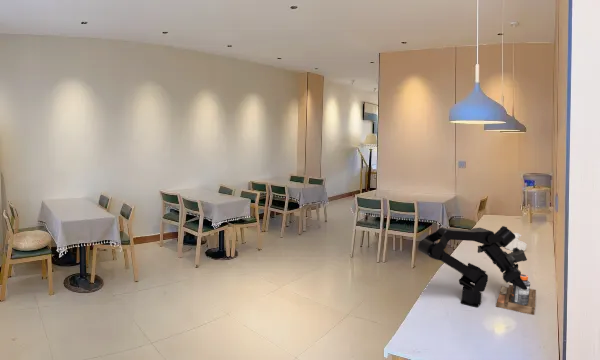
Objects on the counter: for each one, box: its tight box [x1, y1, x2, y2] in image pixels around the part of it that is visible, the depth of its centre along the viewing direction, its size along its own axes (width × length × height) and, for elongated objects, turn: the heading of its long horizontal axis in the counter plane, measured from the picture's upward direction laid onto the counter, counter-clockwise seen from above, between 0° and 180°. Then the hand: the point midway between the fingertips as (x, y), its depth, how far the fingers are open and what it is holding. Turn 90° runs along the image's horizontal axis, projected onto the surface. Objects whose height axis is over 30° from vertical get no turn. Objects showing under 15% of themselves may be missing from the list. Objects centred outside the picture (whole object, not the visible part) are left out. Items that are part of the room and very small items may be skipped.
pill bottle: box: [511, 273, 531, 305], centre depth 156 cm, size 6×6×11 cm
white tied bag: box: [504, 232, 528, 252], centre depth 236 cm, size 12×8×11 cm
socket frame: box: [495, 284, 537, 316], centre depth 162 cm, size 13×22×2 cm, turn 149°
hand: (525, 286), depth 155 cm, fingers closed on pill bottle, 6 cm apart
